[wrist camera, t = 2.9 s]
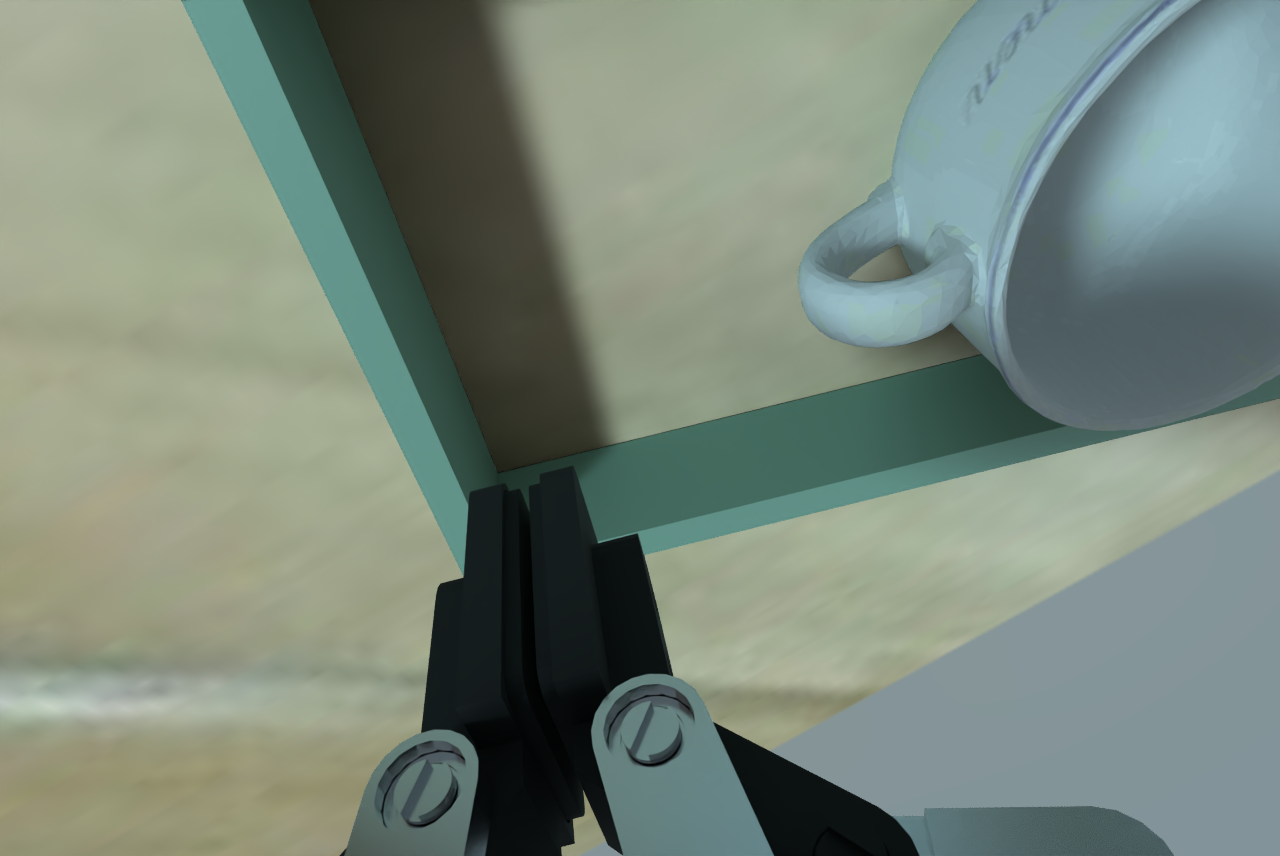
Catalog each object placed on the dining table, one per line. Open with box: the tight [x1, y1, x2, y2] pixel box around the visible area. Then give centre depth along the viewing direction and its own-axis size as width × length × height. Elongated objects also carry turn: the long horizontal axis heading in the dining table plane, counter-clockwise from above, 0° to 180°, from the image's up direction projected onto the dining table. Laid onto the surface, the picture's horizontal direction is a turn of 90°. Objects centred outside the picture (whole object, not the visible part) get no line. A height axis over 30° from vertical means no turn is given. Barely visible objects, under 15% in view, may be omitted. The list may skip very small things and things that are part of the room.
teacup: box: [798, 0, 1280, 431], centre depth 18 cm, size 14×11×8 cm
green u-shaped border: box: [181, 0, 1280, 576], centre depth 19 cm, size 17×26×4 cm, turn 101°
